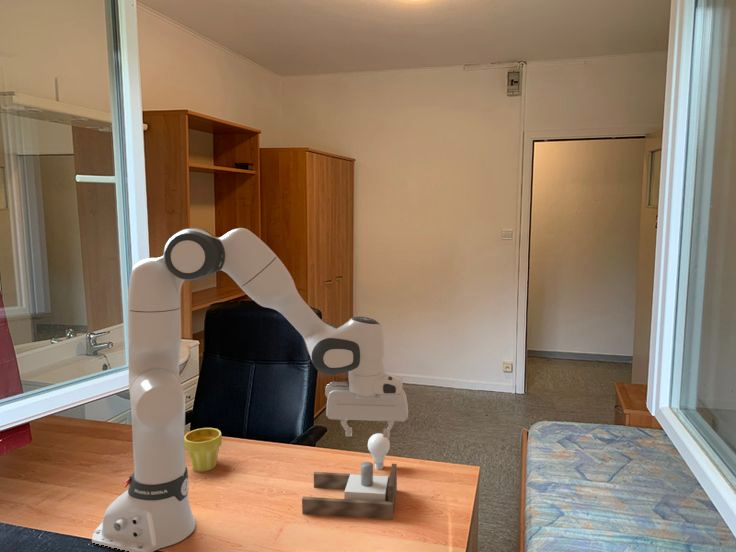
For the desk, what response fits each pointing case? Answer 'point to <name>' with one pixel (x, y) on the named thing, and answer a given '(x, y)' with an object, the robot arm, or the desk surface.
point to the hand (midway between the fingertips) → (367, 436)
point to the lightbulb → (378, 449)
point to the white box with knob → (367, 485)
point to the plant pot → (203, 447)
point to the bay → (349, 505)
